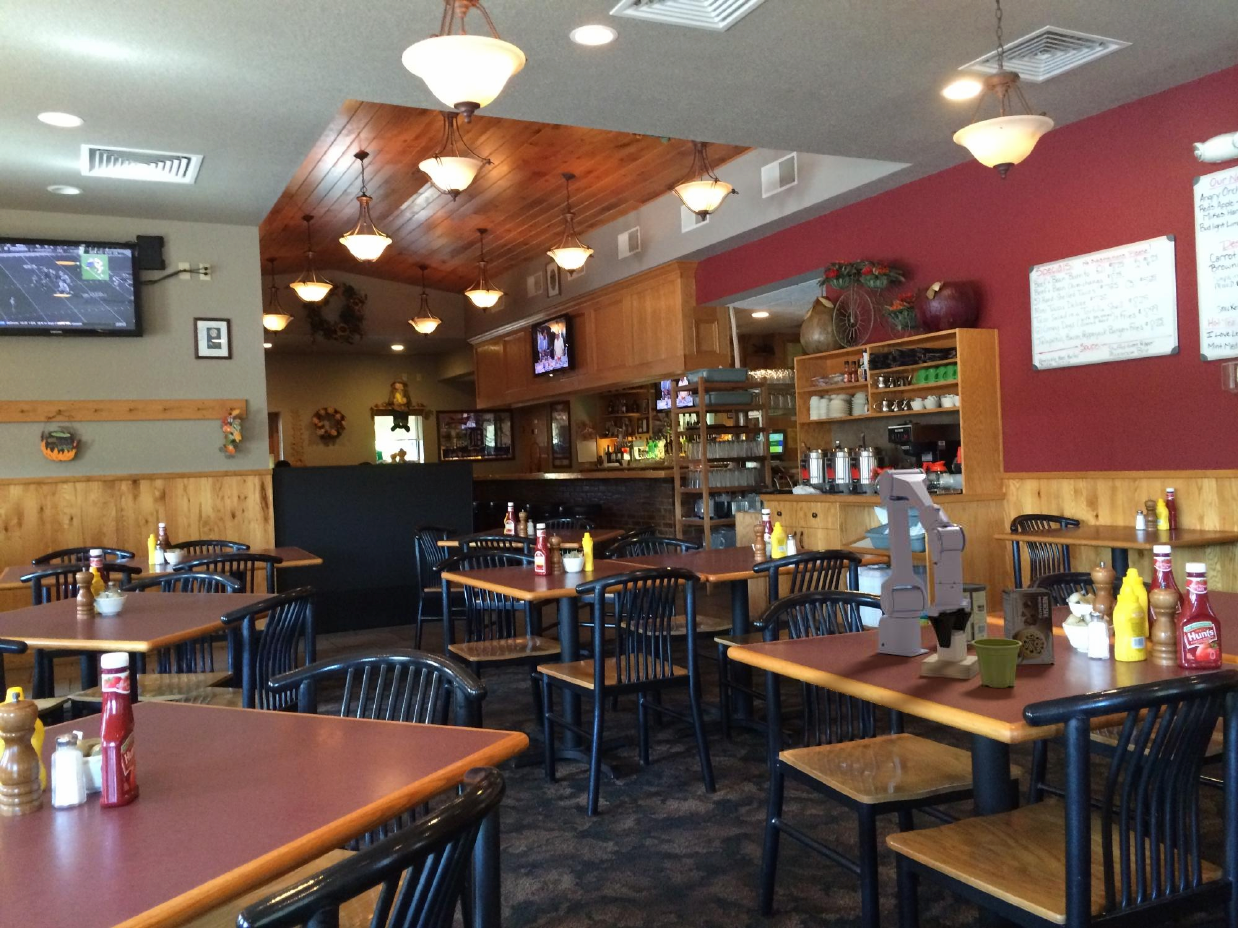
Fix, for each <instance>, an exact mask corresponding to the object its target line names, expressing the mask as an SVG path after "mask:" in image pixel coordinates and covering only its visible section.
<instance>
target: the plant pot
mask: <svg viewBox="0 0 1238 928" xmlns="http://www.w3.org/2000/svg"><path fill="white" fill-rule="evenodd" d="M971 645H972V646H973V648H974V652H975V654H976V656H977V659H978V664H979V670H980V672H979V675H980V679H981V680H980V681H981V684H982V685H983V686H985V687H986V686H988V687H990V688H993V689H994V688H995V689H996V688H998V689H1005V688H1008V687H1014V686H1015V683H1016V682H1015V681H1016V670H1017V665H1016V664H1017V656H1018V653H1019V648H1020V646H1021V645H1022V643H1021V642H1020V641H1017V640H1011V639H1005V638H994V637H992V638H989V637H988V639H977V640H974V641H972V644H971Z"/></svg>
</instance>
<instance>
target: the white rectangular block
mask: <svg viewBox="0 0 1238 928" xmlns="http://www.w3.org/2000/svg"><path fill="white" fill-rule="evenodd" d="M967 645H968V644H966V633H963V631H961V630H952V632H951V645H950V648H942V647H940V646H939V643H938V639H937V638H936V649H937V650H936V654H937V656H938V660H946V661H954V662H958V661H961V660H964V659H967V656H968V649H967V648H968V647H967Z"/></svg>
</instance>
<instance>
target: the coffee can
mask: <svg viewBox="0 0 1238 928" xmlns="http://www.w3.org/2000/svg"><path fill="white" fill-rule="evenodd" d="M962 585H963V599H968V600H970V601H971V608H970V609H965V610H966V611H971V614H972V615H971V617H970V619H969V621H968V623H967V625H966V629H965V633H966V644H967V645H972V641H974V640H977V639H988V638H989V637H988V619H987V616H988V615H987V594H986V590H987V589H986V588H987V586H986V584H982V583H974V582H972V583H971V582H962Z"/></svg>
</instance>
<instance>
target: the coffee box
mask: <svg viewBox="0 0 1238 928" xmlns="http://www.w3.org/2000/svg"><path fill="white" fill-rule="evenodd" d="M1001 594H1002V612H1003V614H1002V615H1003V632H1004V633H1003V634H1004V639H1011V640H1017V641H1020V642H1021V643H1022V645H1021V646H1020V648H1019V653H1018V656H1017V664H1016V666H1017V665H1019V666H1020V665H1045V664H1049V665H1050V664H1051V663H1054V664H1055V660H1056V659H1055V644H1054V628H1053V627H1054V626H1053V625H1054V624H1053V610H1052V609H1053V608H1052V591H1050V590H1048V589H1045V588H1043V587H1038V588H1037V587H1033V588H1032V587H1031V588H1030V587H1029V588H1007V589H1005V588H1004V589H1002V590H1001Z"/></svg>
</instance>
